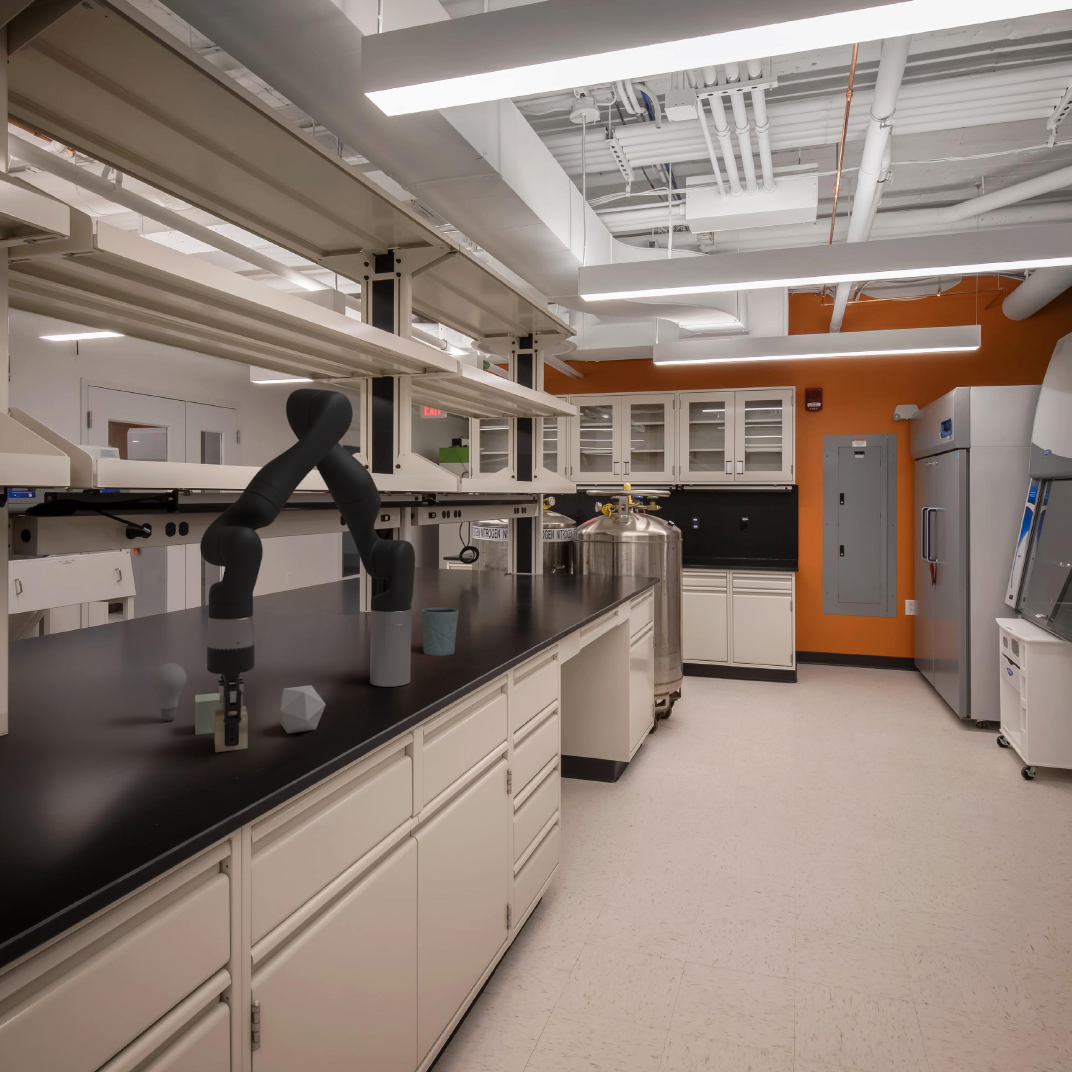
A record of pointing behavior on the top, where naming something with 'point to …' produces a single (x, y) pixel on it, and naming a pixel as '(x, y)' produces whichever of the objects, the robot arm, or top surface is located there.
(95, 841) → the top surface
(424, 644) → the teal plant pot
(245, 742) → the maple block
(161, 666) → the lightbulb
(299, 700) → the die
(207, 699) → the sage block
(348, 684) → the top surface
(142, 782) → the top surface
